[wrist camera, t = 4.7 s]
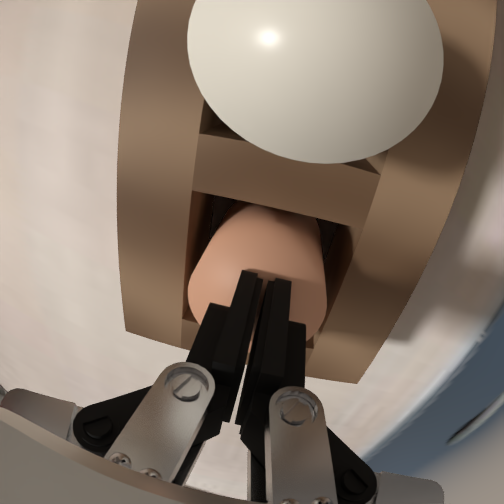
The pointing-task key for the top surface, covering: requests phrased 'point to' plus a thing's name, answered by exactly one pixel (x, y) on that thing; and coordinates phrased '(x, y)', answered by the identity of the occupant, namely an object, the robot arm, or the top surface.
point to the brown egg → (263, 262)
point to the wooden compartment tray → (286, 188)
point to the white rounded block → (317, 72)
